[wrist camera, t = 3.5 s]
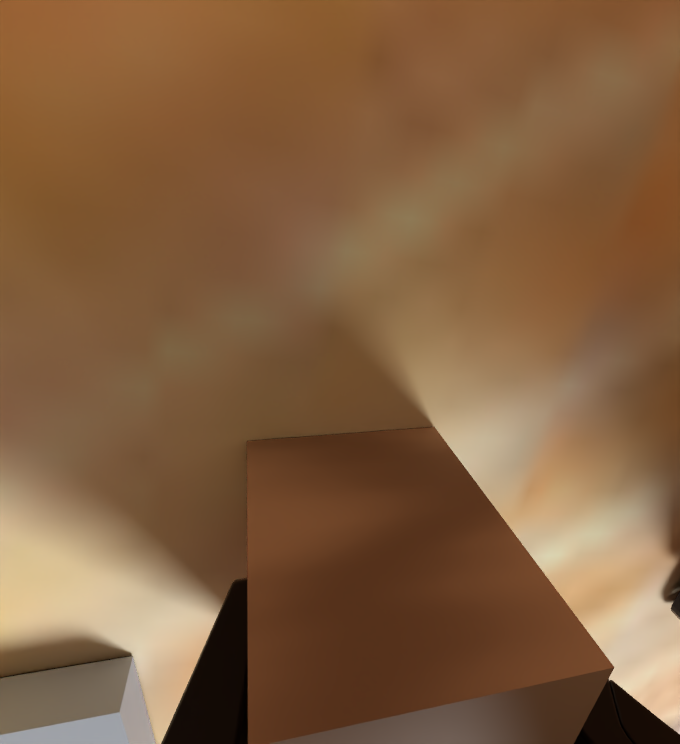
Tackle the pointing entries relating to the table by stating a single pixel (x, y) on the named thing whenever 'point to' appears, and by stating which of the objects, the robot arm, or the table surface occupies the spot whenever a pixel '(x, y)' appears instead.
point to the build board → (76, 706)
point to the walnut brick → (400, 603)
